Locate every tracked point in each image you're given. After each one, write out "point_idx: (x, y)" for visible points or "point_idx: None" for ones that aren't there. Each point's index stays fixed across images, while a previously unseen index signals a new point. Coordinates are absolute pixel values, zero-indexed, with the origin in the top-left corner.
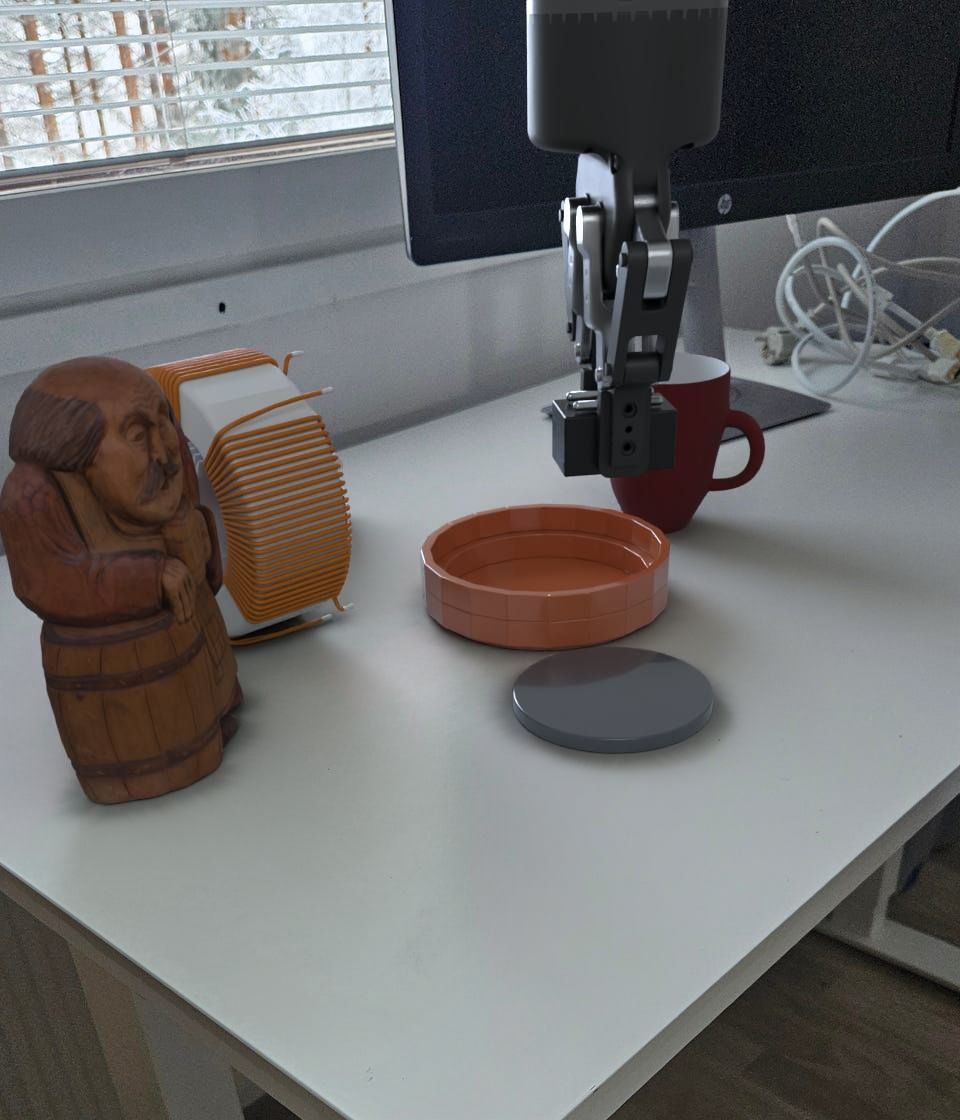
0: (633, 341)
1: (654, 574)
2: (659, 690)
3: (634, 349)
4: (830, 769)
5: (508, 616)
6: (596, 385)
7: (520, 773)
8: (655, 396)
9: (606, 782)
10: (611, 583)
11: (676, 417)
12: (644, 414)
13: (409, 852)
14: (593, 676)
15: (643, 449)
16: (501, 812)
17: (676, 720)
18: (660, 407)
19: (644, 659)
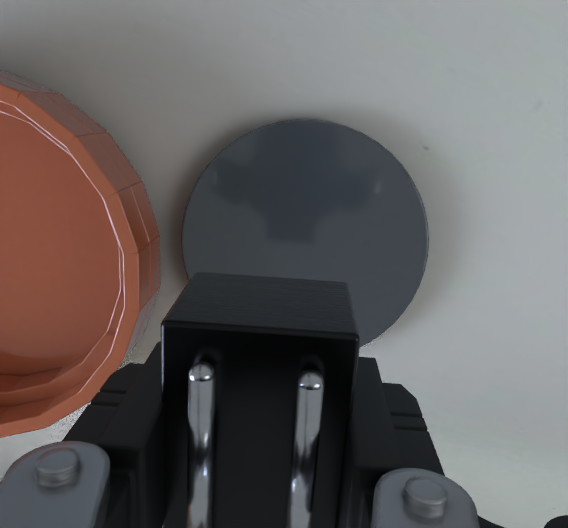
0: (100, 499)
1: (76, 133)
2: (323, 193)
3: (79, 460)
4: (538, 40)
5: (133, 346)
6: (155, 511)
7: (423, 374)
8: (310, 399)
9: (471, 298)
10: (110, 213)
11: (355, 328)
12: (435, 460)
13: (522, 489)
14: (264, 260)
15: (419, 407)
16: (488, 406)
17: (402, 198)
18: (324, 373)
19: (233, 184)
